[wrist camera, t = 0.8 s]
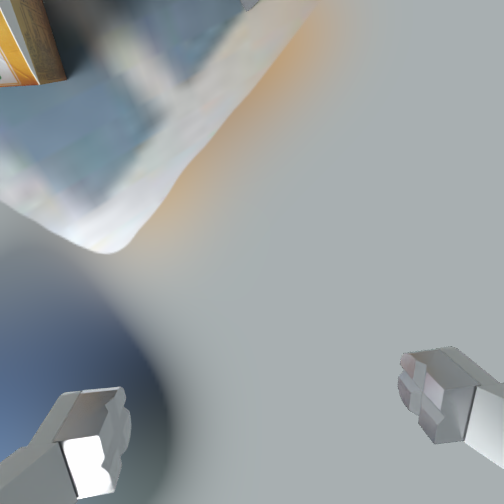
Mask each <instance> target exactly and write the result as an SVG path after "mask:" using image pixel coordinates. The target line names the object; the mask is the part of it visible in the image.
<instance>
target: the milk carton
mask: <svg viewBox="0 0 504 504" xmlns="http://www.w3.org/2000/svg"><path fill="white" fill-rule="evenodd" d="M64 80H67V79H66V75H65V72H64V69H63V66H62V62H61V59H60V56H59V53H58V50H57V46H56V43H55V40H54V37H53V34H52V30H51V27H50V24H49V21H48V17H47V14H46V11H45V8H44V5H43V1H42V0H0V87H8V86H26V85H41V84H47V83H52V82H58V81H64Z"/></svg>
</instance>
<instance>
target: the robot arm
mask: <svg viewBox="0 0 504 504" xmlns="http://www.w3.org/2000/svg"><path fill="white" fill-rule="evenodd" d="M400 365H401V366H402V368H403V369H404V371H403V372H402V373H401V374H400V376H399V377H398V389H399V394H400V397H401V399H402V401H403V403H404V405H405V406H406V407H407V408H408V410H409V411H411V412H412V413H414V414H416V415H418V416H419V421H418V423H419V425H420V426H421V428H422V429H423V430H424V432H425V433H426V434H427V435H428V437H429V438H430V439H431V441H432V442H433V443H434V444H441V443H450V442H458V441H465V443H466V444H467V445H469V446H470V447H472V448H473V449H475V450H476V451H478V452H479V453H481V454H482V455H484V456H485V457H486V458H488V459H489V460H491V461H492V462H494V463H495V464H497V465H498V466H500V467H501V468H503V469H504V383H499V382H498V381H497V380H496V379H494V378H493V377H492V376H491V375H490V374H488V373H487V372H486V371H485V370H483V369H482V368H481V367H480V366H478V365H477V364H476V363H475V362H474V361H472V360H471V359H470V358H468V357H467V356H466V355H465V354H464V353H462V352H461V351H459V349H457V348H455V347H452V346H450V347H443V348H436V349H431V350H424V351H416V352H408V353H403V355H402V357H401V361H400ZM125 400H126V396H125V392H124V389H123V388H122V387H113V388H104V389H93V390H84V391H76V392H65V393H63V394H62V395H60V397H59V398H58V399H57V401H56V402H55V404H54V406H53V407H52V409H51V410H50V412H49V414H48V415H47V417H46V418H45V420H44V421H43V423H42V424H41V426H40V428H39V429H38V431H37V432H36V434H35V435H34V437H33V438H32V440H31V442H30V443H29V445H28V446H26V447H21V448H19V449H18V450H17V451H15V452H14V453H13V454H11V455H10V456H9V457H7V458H6V459H5V460H3V461H2V462H1V463H0V504H76V502H77V501H78V500H77V499H79V498H85V497H90V496H95V495H101V494H107V493H112V492H114V491H115V488H116V484H117V481H118V478H119V475H120V471H121V468H122V463H121V459H120V456H121V455H122V454H123V453H124V452H125V451H126V450H127V447H128V444H129V440H130V433H131V417H130V413H129V410H127V409H126V408H125V407H124V403H125Z"/></svg>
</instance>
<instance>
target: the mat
mask: <svg viewBox="0 0 504 504" xmlns="http://www.w3.org/2000/svg"><path fill="white" fill-rule="evenodd" d="M240 1H241V3H242V5H243V6H244V8H245V10H246V11H248V10H250V9H251V8H252V7H253V6H254V5H255V4H256V3H257V2H258V1H259V0H240Z"/></svg>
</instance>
